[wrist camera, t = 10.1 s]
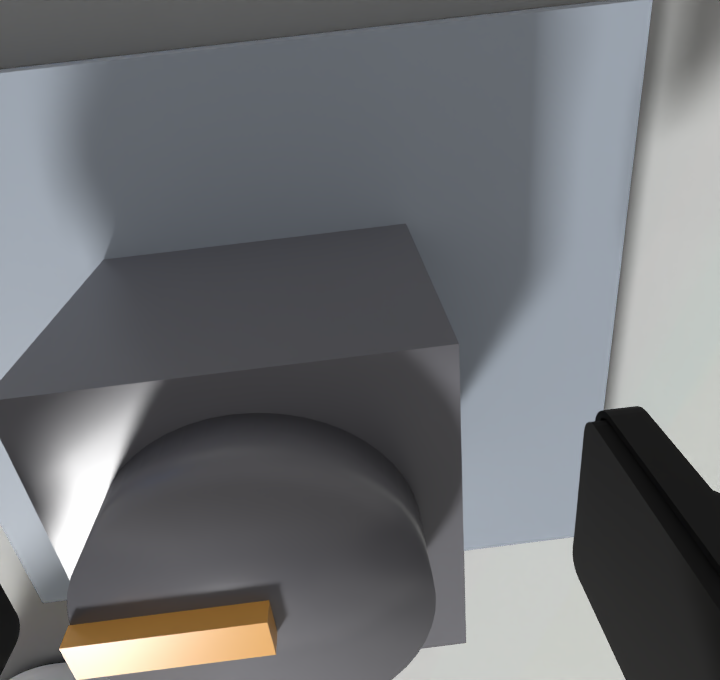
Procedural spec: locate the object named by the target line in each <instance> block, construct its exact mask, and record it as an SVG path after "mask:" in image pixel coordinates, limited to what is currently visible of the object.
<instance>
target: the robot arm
mask: <svg viewBox="0 0 720 680" xmlns="http://www.w3.org/2000/svg"><path fill="white" fill-rule="evenodd" d="M573 561H574V566H575V569H576V573H577V575H578V578H579V580H580V582H581V584H582V586H583V589H584V591H585V593H586V595H587V597H588V599H589V601H590V604H591V606H592V608H593V610H594V612H595V614H596V617H597V619H598V621H599V623H600V625H601V627H602V629H603V632H604V634H605V636H606V638H607V640H608V642H609V645H610V647H611V649H612V651H613V653H614V655H615V657H616V660H617V662H618V664H619V666H620V668H621V670H622V672H623V675H624V677H625V679H626V680H720V493H718V492H716V491H713V490H712V489H711V488H710V487H709V485H708V484H707V483H706V482H705V481H704V480H703V478H702V477H701V476H700V475H699V474H698V472H697V471H696V470H695V469H694V468H693V466H692V465H691V464H690V463H689V462H688V460H687V459H686V458H685V457H684V456H683V454H682V453H681V452H680V451H679V450H678V449H677V447H676V446H675V445H674V444H673V443H672V441H671V440H670V439H669V438H668V437H667V435H666V434H665V433H664V432H663V431H662V429H661V428H660V427H659V426H658V425H657V423H656V422H655V421H654V420H653V419H652V418H651V416H650V415H649V414H648V413H647V412H646V411H645V410H644V409H643V408H642V407H638V406H635V407H627V408H618V409H610V410H601V411H599V412H598V413H597V415H596V418H595V421H593V422H588V423H586V425H585V428H584V436H583V447H582V457H581V468H580V478H579V489H578V500H577V510H576V521H575V531H574V542H573ZM19 630H20V623H19V618H18V615H17V613H16V612H15V610H14V608H13V606H12V604H11V603H10V601H9V599H8V597H7V595H6V594H5V592H4V590H3V588H2V586H1V585H0V675H1V673H2V671H3V669H4V667H5V665H6V663H7V661H8V659H9V657H10V655H11V653H12V651H13V649H14V647H15V645H16V642H17V640H18V636H19Z"/></svg>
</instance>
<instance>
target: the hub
mask: <svg viewBox="0 0 720 680" xmlns="http://www.w3.org/2000/svg"><path fill="white" fill-rule="evenodd" d="M652 2H653V0H616V1H597V2H589V3H580V4H571V5H562V6H553V7H545V8H536V9H527V10H518V11H510V12H501V13H492V14H483V15H474V16H466V17H457V18H448V19H439V20H430V21H422V22H413V23H404V24H395V25H386V26H378V27H369V28H360V29H351V30H342V31H334V32H325V33H316V34H307V35H298V36H290V37H281V38H272V39H263V40H254V41H246V42H237V43H228V44H219V45H210V46H202V47H193V48H184V49H175V50H167V51H158V52H149V53H140V54H131V55H123V56H114V57H105V58H96V59H87V60H79V61H70V62H61V63H52V64H43V65H35V66H26V67H17V68H8V69H0V380H1V379H2V378H3V377H4V375H5V374H6V373H7V372H8V371H9V370H10V368H11V367H12V366H13V365H14V364H15V363H16V361H17V360H18V359H19V358H20V357H21V356H22V354H23V353H24V352H25V351H26V350H27V349H28V347H29V346H30V345H31V344H32V343H33V342H34V340H35V339H36V338H37V337H38V336H39V334H40V333H41V332H42V331H43V330H44V329H45V327H46V326H47V325H48V324H49V323H50V322H51V320H52V319H53V318H54V317H55V316H56V315H57V313H58V312H59V311H60V310H61V309H62V308H63V306H64V305H65V304H66V303H67V302H68V301H69V299H70V298H71V297H72V296H73V295H74V293H75V292H76V291H77V290H78V289H79V288H80V286H81V285H82V284H83V283H84V282H85V281H86V279H87V278H88V277H89V276H90V275H91V274H92V272H93V271H94V270H95V269H96V268H97V267H98V265H99V264H100V263H101V262H102V261H103V260H104V259H112V258H121V257H129V256H138V255H146V254H154V253H163V252H171V251H180V250H188V249H196V248H205V247H213V246H222V245H230V244H238V243H247V242H255V241H264V240H272V239H280V238H289V237H297V236H306V235H314V234H322V233H331V232H339V231H348V230H356V229H364V228H373V227H381V226H390V225H398V224H406V225H407V227H408V229H409V232H410V234H411V236H412V238H413V241H414V243H415V245H416V247H417V250H418V252H419V254H420V256H421V259H422V261H423V263H424V266H425V268H426V270H427V272H428V275H429V277H430V279H431V281H432V284H433V286H434V288H435V290H436V293H437V295H438V297H439V299H440V302H441V304H442V306H443V309H444V311H445V313H446V315H447V318H448V320H449V322H450V324H451V327H452V329H453V331H454V333H455V336H456V338H457V340H458V343H459V361H460V404H461V448H462V491H463V534H464V551H465V550H473V549H481V548H489V547H497V546H505V545H513V544H521V543H529V542H538V541H546V540H554V539H562V538H570V537H574V531H575V521H576V510H577V500H578V489H579V478H580V468H581V457H582V447H583V436H584V428H585V425H586V423H588V422H593V421H595V418H596V415H597V413H598V412H599V411H601V410H604V403H605V394H606V386H607V378H608V369H609V361H610V352H611V344H612V336H613V327H614V319H615V311H616V302H617V294H618V286H619V277H620V269H621V261H622V252H623V244H624V236H625V227H626V219H627V211H628V202H629V194H630V186H631V177H632V169H633V161H634V152H635V144H636V135H637V127H638V119H639V110H640V102H641V94H642V85H643V77H644V69H645V60H646V52H647V44H648V35H649V27H650V19H651V10H652ZM0 525H1V527H2V528H3V530H4V532H5V534H6V536H7V538H8V540H9V541H10V543H11V545H12V547H13V549H14V551H15V553H16V555H17V556H18V558H19V560H20V562H21V564H22V566H23V568H24V569H25V571H26V573H27V575H28V577H29V579H30V581H31V582H32V584H33V586H34V588H35V590H36V592H37V594H38V595H39V597H40V599H41V601H42V603H49V602H57V601H65V600H67V592H68V587H69V583H70V580H69V578H68V576H67V574H66V571H65V569H64V567H63V565H62V563H61V561H60V559H59V557H58V555H57V553H56V551H55V549H54V547H53V545H52V543H51V541H50V539H49V537H48V535H47V533H46V531H45V529H44V527H43V525H42V523H41V521H40V519H39V517H38V515H37V513H36V511H35V509H34V507H33V504H32V502H31V500H30V498H29V496H28V494H27V492H26V490H25V488H24V486H23V484H22V482H21V480H20V478H19V476H18V474H17V472H16V470H15V468H14V466H13V464H12V462H11V460H10V458H9V456H8V454H7V452H6V450H5V448H4V446H3V444H2V442H1V440H0Z"/></svg>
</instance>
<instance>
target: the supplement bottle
mask: <svg viewBox="0 0 720 680" xmlns="http://www.w3.org/2000/svg"><path fill="white" fill-rule="evenodd" d="M9 680H76V679H75V677H74V675H73V673H72V672H71V670H70V668H69V666H68V664H67V662H66V663H56V664H50V665H44V666H40V667H37V668H33V669H30V670H27V671H25V672H23V673H20V674H18V675H16V676H14V677H13V678H11V679H9ZM81 680H110V679H109V678H107V677H106V676H105V677H97V678H89V679H81Z"/></svg>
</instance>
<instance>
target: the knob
mask: <svg viewBox="0 0 720 680" xmlns="http://www.w3.org/2000/svg"><path fill="white" fill-rule="evenodd" d="M0 440H1V442H2V444H3V446H4V448H5V450H6V452H7V454H8V456H9V458H10V460H11V462H12V464H13V466H14V468H15V470H16V472H17V474H18V476H19V478H20V480H21V482H22V484H23V486H24V488H25V490H26V492H27V494H28V496H29V498H30V500H31V502H32V504H33V507H34V509H35V511H36V513H37V515H38V517H39V519H40V521H41V523H42V525H43V527H44V529H45V531H46V533H47V535H48V537H49V539H50V541H51V543H52V545H53V547H54V549H55V551H56V553H57V555H58V557H59V559H60V561H61V563H62V565H63V567H64V569H65V571H66V574H67V576H68V578H69V580H70V583H69V587H68V592H67V612H68V617H69V622H70V625H68V628H67V630H66V633H65V635H64V638H63V640H62V643H61V645H60V648H59V650H60V652H61V653H62V655H63V657H64V659H65V661H66V662H67V664H68V666H69V668H70V670H71V672H72V673H73V675H74V677H75V679H76V680H81V679H89V678H97V677H105V676H106V677H107V678H109V679H110V680H392V679H393V678H394V677H395V676H397V675H398V674H399V673H400V672H401V671H402V670H403V669H404V668H406V667H407V665H408V664H409V663H410V662H411V661H412V660H413V658H414V657H415V656H416V655H417V654H418V652H419V650H420V649H422V648H429V647H437V646H445V645H453V644H461V643H466V621H465V578H464V534H463V491H462V448H461V404H460V361H459V343H458V340H457V338H456V336H455V333H454V331H453V329H452V327H451V324H450V322H449V320H448V318H447V315H446V313H445V311H444V309H443V306H442V304H441V302H440V299H439V297H438V295H437V293H436V290H435V288H434V286H433V284H432V281H431V279H430V277H429V275H428V272H427V270H426V268H425V266H424V263H423V261H422V259H421V256H420V254H419V252H418V250H417V247H416V245H415V243H414V241H413V238H412V236H411V234H410V232H409V229H408V227H407V225H406V224H398V225H390V226H381V227H373V228H364V229H356V230H348V231H339V232H331V233H322V234H314V235H306V236H297V237H289V238H280V239H272V240H264V241H255V242H247V243H238V244H230V245H222V246H213V247H205V248H196V249H188V250H180V251H171V252H163V253H154V254H146V255H138V256H129V257H121V258H112V259H104V260H103V261H102V262H101V263H100V264H99V265H98V267H97V268H96V269H95V270H94V271H93V272H92V274H91V275H90V276H89V277H88V278H87V279H86V281H85V282H84V283H83V284H82V285H81V286H80V288H79V289H78V290H77V291H76V292H75V293H74V295H73V296H72V297H71V298H70V299H69V301H68V302H67V303H66V304H65V305H64V306H63V308H62V309H61V310H60V311H59V312H58V313H57V315H56V316H55V317H54V318H53V319H52V320H51V322H50V323H49V324H48V325H47V326H46V327H45V329H44V330H43V331H42V332H41V333H40V334H39V336H38V337H37V338H36V339H35V340H34V342H33V343H32V344H31V345H30V346H29V347H28V349H27V350H26V351H25V352H24V353H23V354H22V356H21V357H20V358H19V359H18V360H17V361H16V363H15V364H14V365H13V366H12V367H11V368H10V370H9V371H8V372H7V373H6V374H5V375H4V377H3V378H2V379H1V380H0Z"/></svg>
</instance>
